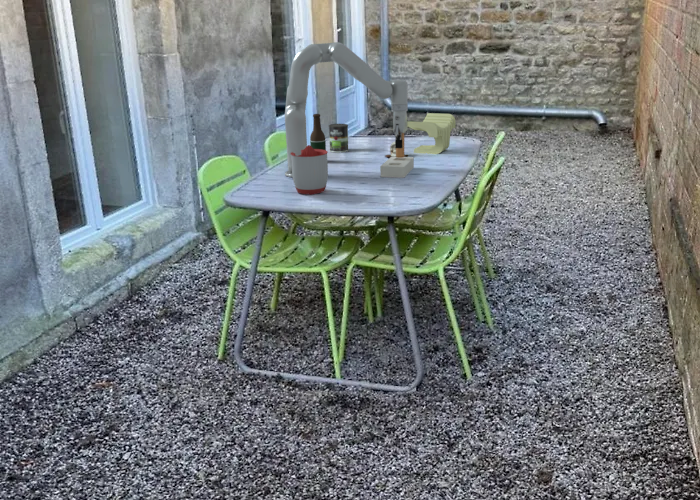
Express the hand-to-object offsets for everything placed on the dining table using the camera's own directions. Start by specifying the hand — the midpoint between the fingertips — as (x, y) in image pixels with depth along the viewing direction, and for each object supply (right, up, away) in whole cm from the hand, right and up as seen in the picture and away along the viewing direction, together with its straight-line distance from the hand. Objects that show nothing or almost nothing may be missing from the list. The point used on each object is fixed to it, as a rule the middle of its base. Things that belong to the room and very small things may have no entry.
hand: (399, 146), depth 339 cm
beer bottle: (-39, -4, +27) cm, 48 cm away
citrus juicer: (-41, -24, -32) cm, 57 cm away
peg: (0, -5, +2) cm, 5 cm away
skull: (0, -1, +34) cm, 34 cm away
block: (-1, -12, -1) cm, 12 cm away
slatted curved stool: (+20, +4, +44) cm, 48 cm away
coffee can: (-29, +5, +53) cm, 61 cm away
